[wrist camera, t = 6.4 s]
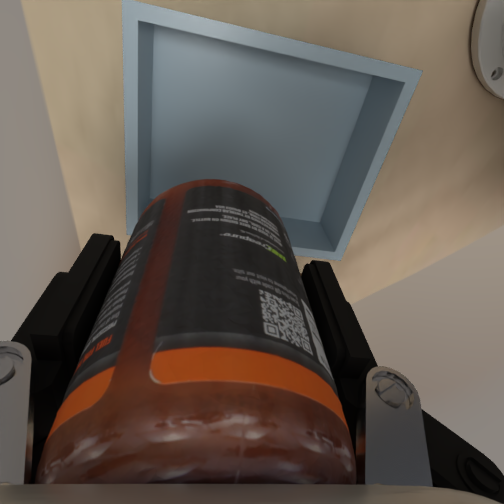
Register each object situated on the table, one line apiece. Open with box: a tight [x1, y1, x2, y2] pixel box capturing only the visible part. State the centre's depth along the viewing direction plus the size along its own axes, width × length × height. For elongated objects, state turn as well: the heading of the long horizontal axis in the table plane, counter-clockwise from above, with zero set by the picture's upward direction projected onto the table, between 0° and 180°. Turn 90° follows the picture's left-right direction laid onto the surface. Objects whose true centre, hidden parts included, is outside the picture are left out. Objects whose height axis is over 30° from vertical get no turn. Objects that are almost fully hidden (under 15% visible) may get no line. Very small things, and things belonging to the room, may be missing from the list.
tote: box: [122, 0, 423, 261], centre depth 25 cm, size 18×15×6 cm
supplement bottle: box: [35, 179, 357, 485], centre depth 8 cm, size 6×6×11 cm
